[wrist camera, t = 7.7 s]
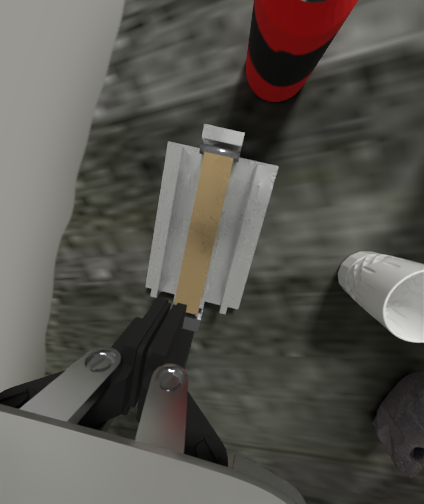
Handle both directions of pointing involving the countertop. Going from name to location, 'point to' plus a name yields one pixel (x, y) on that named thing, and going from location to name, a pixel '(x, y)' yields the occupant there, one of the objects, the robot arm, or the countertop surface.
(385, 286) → the white cup
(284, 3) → the soda can
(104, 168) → the countertop surface
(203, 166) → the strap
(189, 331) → the robot arm
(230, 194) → the heatsink
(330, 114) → the countertop surface
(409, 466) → the perforated stone tool
